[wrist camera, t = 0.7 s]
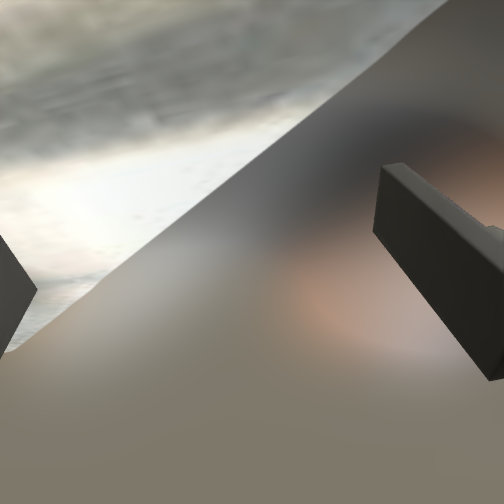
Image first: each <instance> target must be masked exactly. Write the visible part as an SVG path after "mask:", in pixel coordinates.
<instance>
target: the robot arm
mask: <svg viewBox="0 0 504 504" xmlns="http://www.w3.org/2000/svg"><path fill="white" fill-rule="evenodd" d="M373 232H374V234H375V235H376V236H377V237H378V239H379V240H380V241H381V243H382V244H383V245H384V247H385V248H386V249H387V251H388V252H389V253H390V254H391V256H392V257H393V258H394V259H395V261H396V262H397V263H398V264H399V266H400V267H401V268H402V270H403V271H404V272H405V274H406V275H407V276H408V277H409V279H410V280H411V281H412V283H413V284H414V285H415V286H416V288H417V289H418V290H419V292H420V293H421V294H422V295H423V297H424V298H425V299H426V301H427V302H428V303H429V304H430V306H431V307H432V308H433V310H434V311H435V312H436V314H437V315H438V316H439V317H440V319H441V320H442V321H443V323H444V324H445V325H446V326H447V328H448V329H449V330H450V332H451V333H452V334H453V335H454V337H455V338H456V339H457V341H458V342H459V343H460V344H461V346H462V347H463V348H464V349H465V351H466V352H467V353H468V355H469V356H470V357H471V359H472V360H473V361H474V362H475V364H476V365H477V366H478V368H479V369H480V370H481V372H482V373H483V374H484V375H485V377H486V378H487V379H488V380H489V381H493V380H498V379H503V378H504V230H502V229H500V228H498V227H495V226H488V227H485V226H484V225H483V224H481V223H480V222H479V221H477V220H476V219H475V218H473V217H472V216H471V215H469V214H468V213H467V212H465V210H463V209H462V208H461V207H459V206H458V205H457V204H456V203H454V202H453V201H452V200H450V199H449V198H448V197H446V196H445V195H444V194H443V193H441V192H440V191H439V190H437V189H436V188H435V187H433V186H432V185H431V184H430V183H428V182H427V181H426V180H425V179H423V178H422V177H420V176H419V175H418V174H417V173H415V172H414V171H413V170H411V169H410V168H409V167H408V166H406V165H405V164H404V163H396V164H390V165H384V166H381V171H380V179H379V187H378V194H377V202H376V210H375V217H374V226H373ZM37 290H38V289H37V288H36V286H35V285H34V283H33V282H32V280H31V279H30V278H29V276H28V275H27V273H26V272H25V270H24V269H23V267H22V266H21V264H20V263H19V262H18V260H17V259H16V257H15V256H14V254H13V253H12V251H11V250H10V248H9V247H8V245H7V244H6V243H5V241H4V240H3V238H2V237H1V235H0V359H1V357H2V355H3V353H4V351H5V349H6V348H7V346H8V344H9V342H10V340H11V338H12V336H13V335H14V333H15V331H16V329H17V327H18V325H19V323H20V322H21V320H22V318H23V316H24V314H25V312H26V310H27V309H28V307H29V305H30V303H31V301H32V299H33V297H34V296H35V294H36V292H37Z"/></svg>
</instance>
